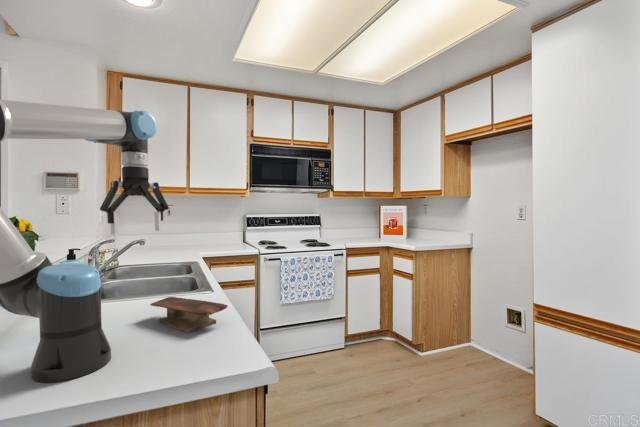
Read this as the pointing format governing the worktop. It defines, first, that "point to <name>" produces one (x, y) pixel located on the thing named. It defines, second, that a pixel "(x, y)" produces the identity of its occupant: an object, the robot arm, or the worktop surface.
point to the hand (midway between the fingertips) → (137, 232)
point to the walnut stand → (186, 320)
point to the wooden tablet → (190, 305)
